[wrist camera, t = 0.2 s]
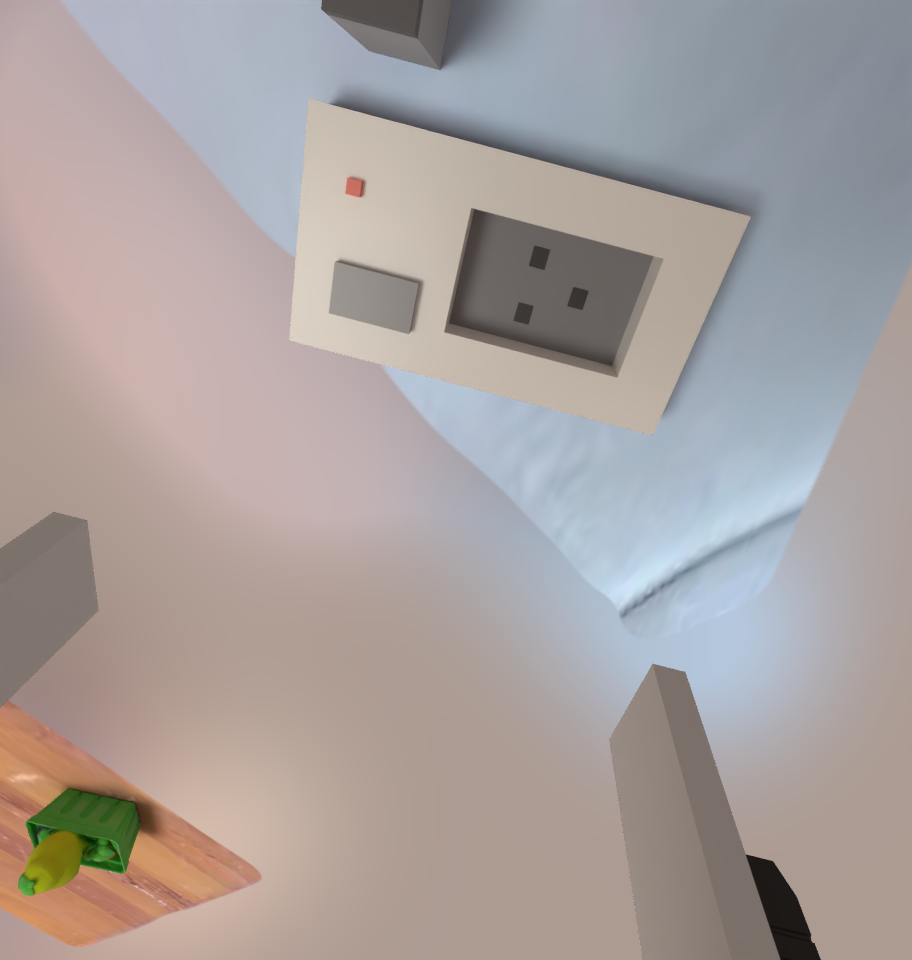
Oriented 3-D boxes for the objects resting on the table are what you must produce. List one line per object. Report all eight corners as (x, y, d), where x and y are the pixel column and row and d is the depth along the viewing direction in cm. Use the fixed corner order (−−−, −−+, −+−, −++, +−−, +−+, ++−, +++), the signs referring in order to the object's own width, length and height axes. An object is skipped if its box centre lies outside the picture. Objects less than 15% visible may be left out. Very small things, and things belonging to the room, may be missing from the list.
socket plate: (327, 106, 31) (304, 96, 28) (732, 214, 31) (755, 217, 28) (305, 329, 37) (285, 342, 34) (644, 418, 38) (654, 439, 35)
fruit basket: (67, 814, 72) (-7, 915, 62) (53, 773, 67) (-29, 874, 57) (151, 832, 71) (91, 936, 61) (142, 791, 67) (76, 896, 57)
